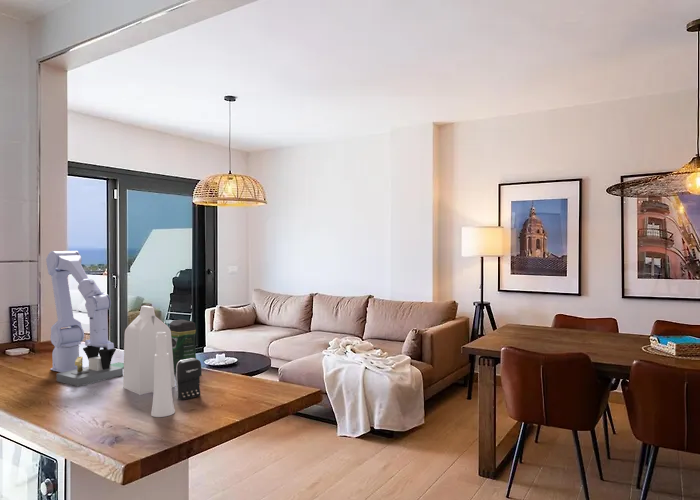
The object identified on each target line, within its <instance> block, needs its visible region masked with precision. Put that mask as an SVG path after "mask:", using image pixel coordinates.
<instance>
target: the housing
mask: <svg viewBox="0 0 700 500" xmlns="http://www.w3.org/2000/svg"><path fill="white" fill-rule="evenodd" d="M120 376H124V368H120V367H115V366H111V368H109V369H105V370H98V371H95V370H91V369H89V366H84V368H83V372H77V369H76V370H71V371H67V372H62V373H61V372H58V373H56V382H59V383H63V384H66V385H71V386H75V387H80V386H85V385H88V384H89V385H90V384H93V383H97V382H101V381H104V380H109V379H113V378H116V377H120Z"/></svg>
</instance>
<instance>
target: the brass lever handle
mask: <svg viewBox="0 0 700 500" xmlns="http://www.w3.org/2000/svg"><path fill="white" fill-rule="evenodd" d="M83 360H84V359H83V356H79V357H78V358H77V359H76V361H75V366H76V365H77V372H83V367H84V366H83Z"/></svg>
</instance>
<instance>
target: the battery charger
mask: <svg viewBox="0 0 700 500" xmlns="http://www.w3.org/2000/svg"><path fill="white" fill-rule="evenodd" d="M201 377H202V363H201V361H200V360H199V359H197V357H196V358H191V359H185V360H181V361H179V362H178V363H177V364H176V373H175V385H176V398H177V400H181V401H184V400H185V401H186V400H189V399H194V398H199V397H200V396H201V388H200V387H201V386H200V384H201V383H200V382H201V381H200V379H201Z"/></svg>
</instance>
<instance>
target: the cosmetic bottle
mask: <svg viewBox="0 0 700 500" xmlns="http://www.w3.org/2000/svg"><path fill="white" fill-rule="evenodd" d="M165 334H166V332H158V333H157V336H156V354H155V358H154V392H152V394H153V396H152V397H153V398H152V404H151V406H152V407H151V412H150V415H151V417H154V418H166V417H169V416H172V415H174V414H175V412H176V410H175V405H174V400H173V389H172V387H171V376H170V362H169V354H168V353H167V336H166V335H165Z"/></svg>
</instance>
